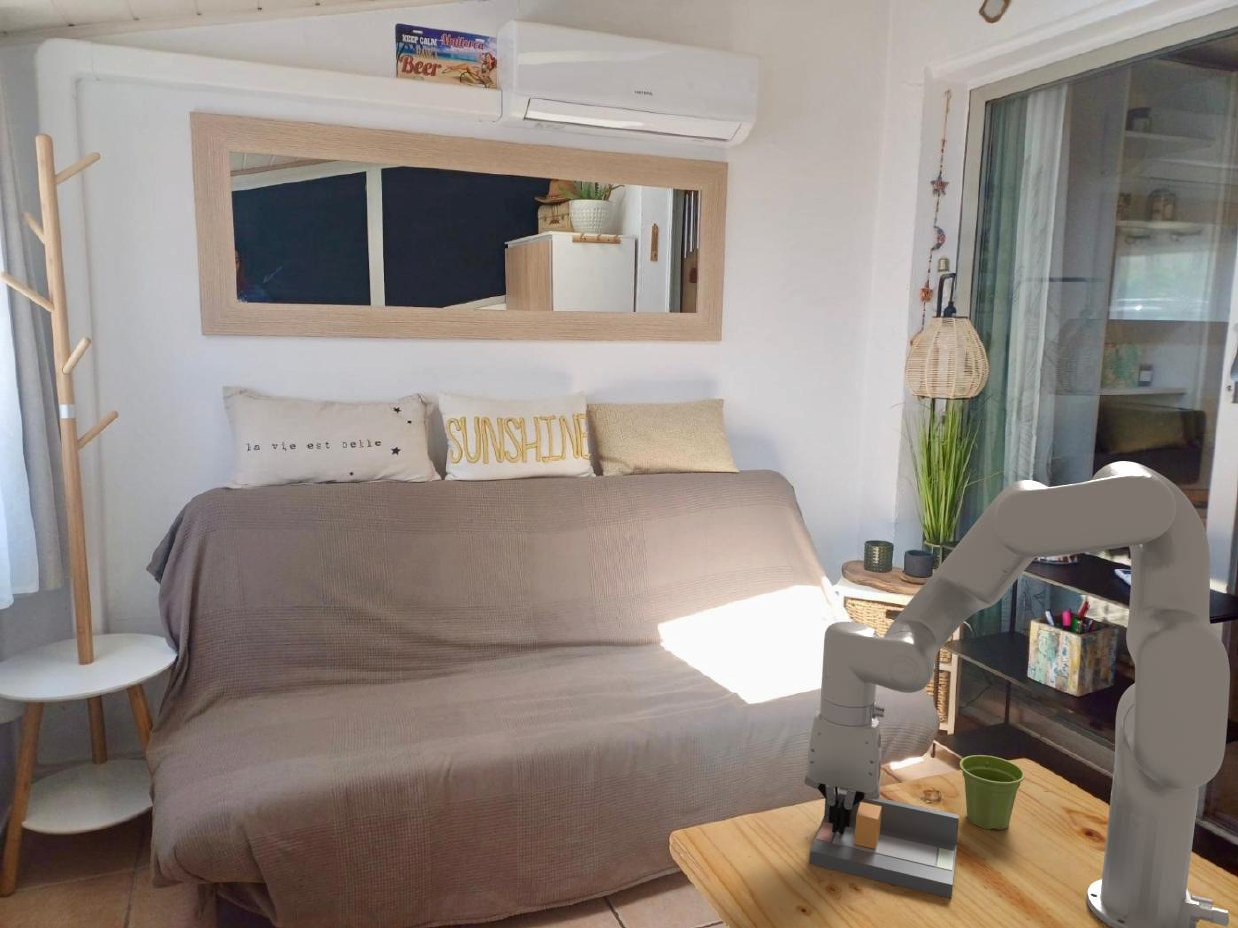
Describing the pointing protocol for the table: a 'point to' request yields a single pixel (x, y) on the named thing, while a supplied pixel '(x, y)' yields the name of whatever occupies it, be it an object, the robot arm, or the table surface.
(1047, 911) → the table surface
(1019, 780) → the plant pot
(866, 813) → the handle
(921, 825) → the switch panel
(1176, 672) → the robot arm
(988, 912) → the table surface
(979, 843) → the table surface
